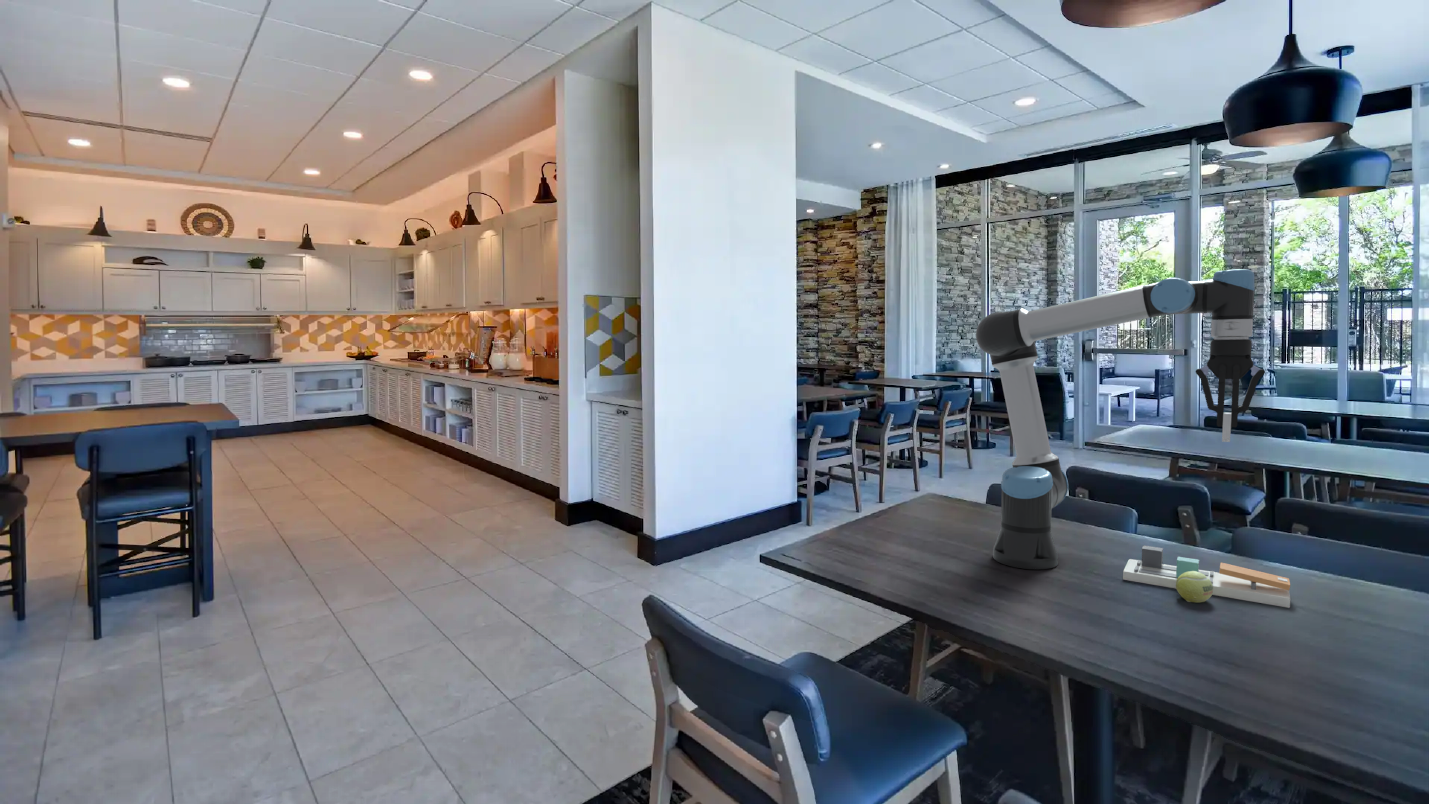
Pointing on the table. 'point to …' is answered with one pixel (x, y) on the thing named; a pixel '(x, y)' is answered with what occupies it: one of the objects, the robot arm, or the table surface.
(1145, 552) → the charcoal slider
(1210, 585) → the tennis ball
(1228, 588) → the panel
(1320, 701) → the table surface
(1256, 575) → the tan block
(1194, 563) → the teal slider
